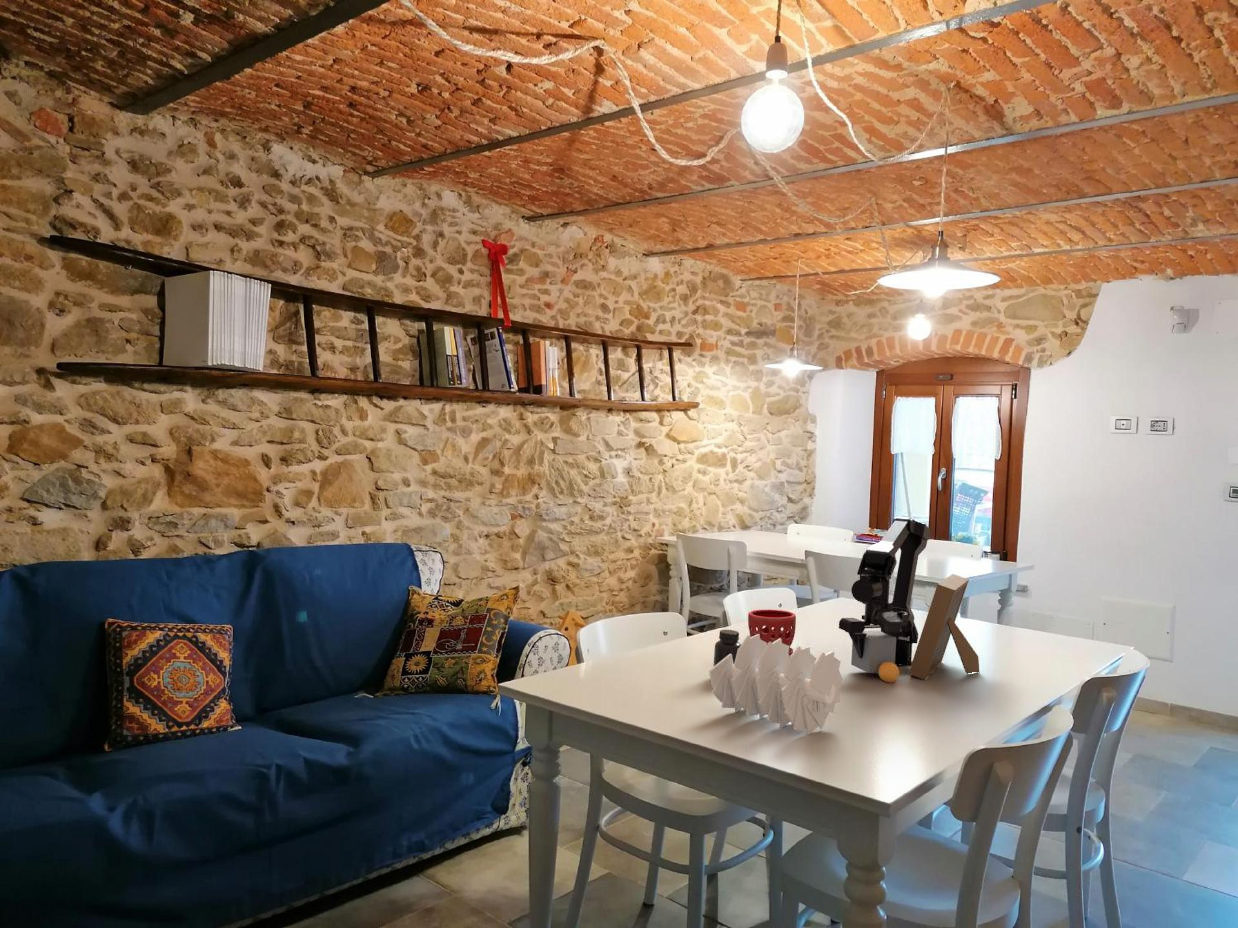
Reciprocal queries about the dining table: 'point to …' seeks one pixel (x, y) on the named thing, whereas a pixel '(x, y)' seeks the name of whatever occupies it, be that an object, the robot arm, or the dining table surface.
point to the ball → (888, 671)
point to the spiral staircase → (778, 683)
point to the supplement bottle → (726, 645)
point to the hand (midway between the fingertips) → (874, 657)
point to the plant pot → (773, 620)
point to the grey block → (875, 651)
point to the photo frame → (943, 630)
